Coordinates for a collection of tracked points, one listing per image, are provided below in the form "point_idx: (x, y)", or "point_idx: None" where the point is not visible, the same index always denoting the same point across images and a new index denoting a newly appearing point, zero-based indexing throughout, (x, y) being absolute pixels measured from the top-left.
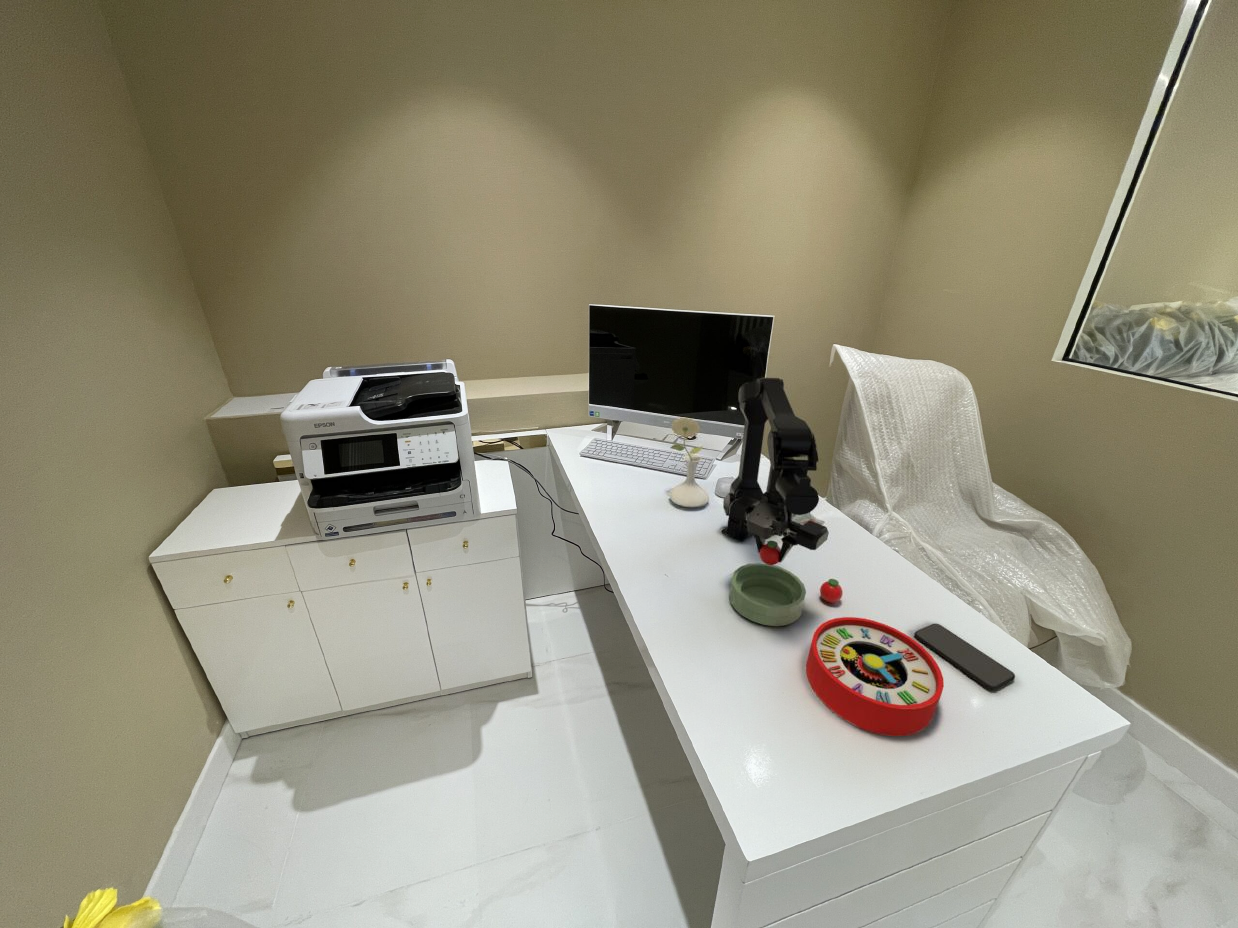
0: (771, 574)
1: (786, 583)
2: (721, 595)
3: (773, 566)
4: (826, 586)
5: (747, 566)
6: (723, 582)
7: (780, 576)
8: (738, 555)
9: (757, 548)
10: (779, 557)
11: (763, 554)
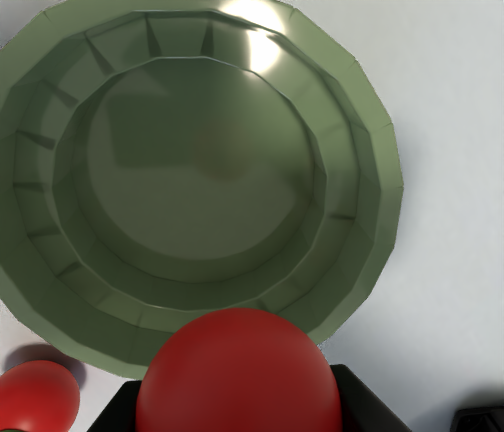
0: None
1: (173, 324)
2: (375, 73)
3: None
4: (28, 415)
5: (363, 272)
6: (411, 164)
7: None
8: (435, 346)
9: (368, 390)
10: (124, 421)
11: (270, 357)
